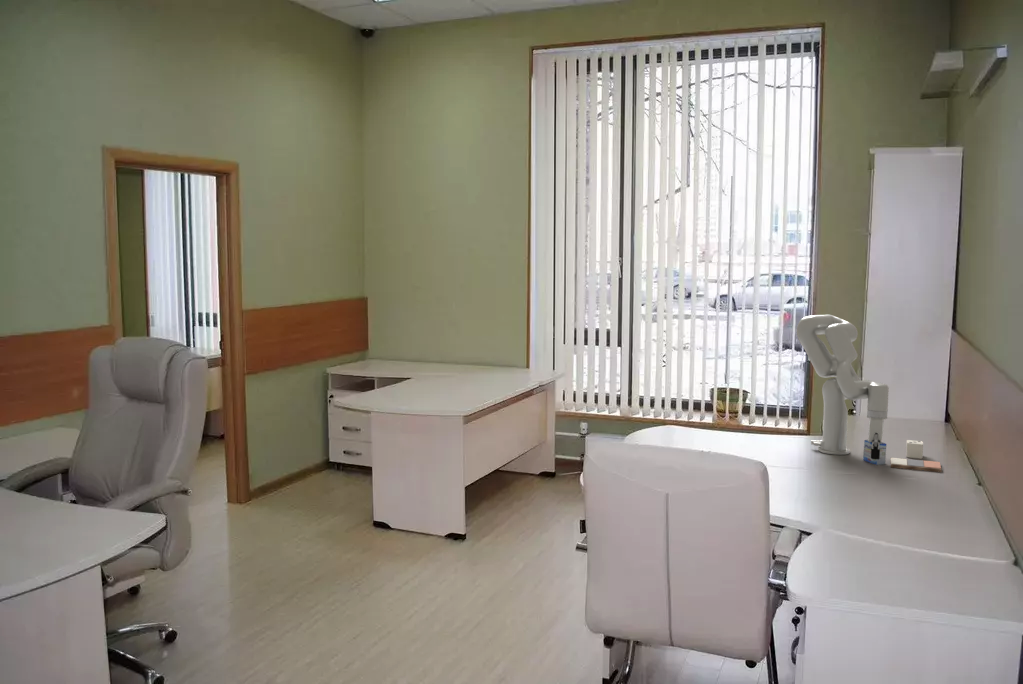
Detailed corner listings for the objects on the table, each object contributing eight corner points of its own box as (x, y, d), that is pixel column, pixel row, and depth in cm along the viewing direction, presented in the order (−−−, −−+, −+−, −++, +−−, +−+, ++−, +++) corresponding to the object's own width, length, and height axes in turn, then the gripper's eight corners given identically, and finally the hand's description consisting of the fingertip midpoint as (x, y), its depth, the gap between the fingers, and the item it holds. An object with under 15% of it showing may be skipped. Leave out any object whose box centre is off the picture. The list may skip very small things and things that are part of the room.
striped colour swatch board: (890, 467, 340) (890, 464, 339) (890, 460, 351) (890, 456, 350) (941, 472, 332) (941, 468, 332) (939, 464, 343) (939, 461, 343)
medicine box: (862, 460, 350) (863, 439, 349) (871, 459, 352) (872, 438, 351) (876, 465, 343) (877, 444, 342) (885, 464, 344) (886, 443, 343)
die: (906, 457, 355) (907, 442, 355) (906, 453, 361) (906, 439, 360) (922, 458, 353) (923, 444, 352) (921, 455, 359) (922, 441, 358)
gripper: (867, 409, 354) (865, 450, 356) (866, 417, 339) (864, 460, 340) (887, 411, 351) (885, 452, 353) (887, 418, 336) (885, 462, 338)
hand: (875, 456), depth 347 cm, fingers closed on medicine box, 8 cm apart
